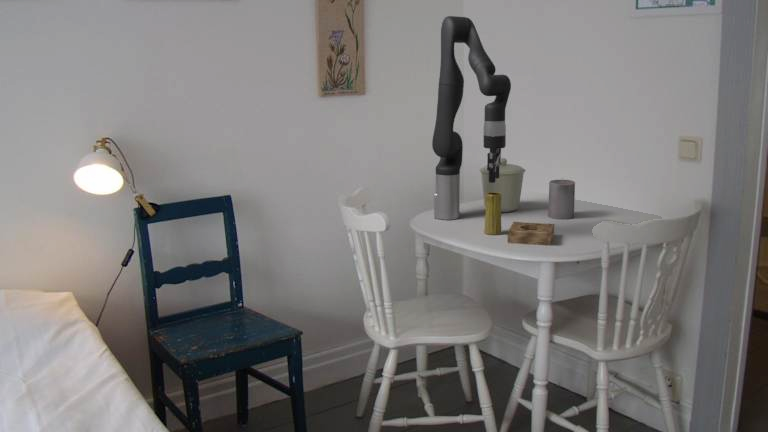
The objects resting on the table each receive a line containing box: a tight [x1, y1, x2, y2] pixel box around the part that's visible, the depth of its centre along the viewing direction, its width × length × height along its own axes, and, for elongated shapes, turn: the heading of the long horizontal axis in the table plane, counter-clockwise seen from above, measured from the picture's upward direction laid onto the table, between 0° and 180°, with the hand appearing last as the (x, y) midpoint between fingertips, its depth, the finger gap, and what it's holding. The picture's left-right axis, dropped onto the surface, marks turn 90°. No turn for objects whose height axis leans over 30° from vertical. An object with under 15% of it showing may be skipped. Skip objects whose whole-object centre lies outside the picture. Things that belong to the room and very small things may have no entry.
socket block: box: [507, 221, 555, 246], centre depth 251 cm, size 14×14×4 cm
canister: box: [479, 157, 526, 213], centre depth 295 cm, size 18×18×21 cm
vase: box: [483, 192, 503, 236], centre depth 259 cm, size 6×6×14 cm
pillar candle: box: [547, 178, 576, 220], centre depth 282 cm, size 10×10×15 cm
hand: (494, 180), depth 257 cm, fingers open, 8 cm apart
